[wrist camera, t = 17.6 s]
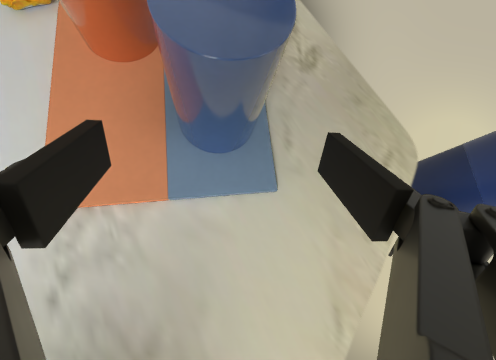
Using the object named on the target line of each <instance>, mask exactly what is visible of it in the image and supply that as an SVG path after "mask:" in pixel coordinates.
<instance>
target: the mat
mask: <svg viewBox="0 0 496 360" xmlns="http://www.w3.org/2000/svg"><path fill="white" fill-rule="evenodd" d="M85 120H102V123H103V128H104V132H105V137H106V142H107V146H108V151H109V156H110V161H111V165H112V166H111V167H110V168H109V169H108V170H107V172H106V173H105V174H104V175H103V177H102V178H101V179H100V180H99V182H98V183H97V184H96V185H95V187H94V188H93V189H92V190H91V192H90V193H89V194H88V195H87V197H86V198H85V199H84V200H83V202H82V203H81V204H80V205H79V207H91V206H104V205H116V204H128V203H140V202H153V201H165V200H177V199H189V198H202V197H214V196H226V195H238V194H251V193H263V192H275V191H277V183H276V176H275V169H274V162H273V155H272V148H271V141H270V134H269V127H268V120H267V113H266V106H265V102H264V105H263V107H262V110H261V113H260V115H259V118H258V120H257V123H256V126H255V128H254V131H253V133H252V135H251V137H250V138H249V140H248V141H247V142H246V143H245V144H244V145H243V146H241V147H240V148H238V149H236V150H234V151H231V152H227V153H210V152H206V151H203V150H201V149H199V148H197V147H195V146H194V145H192V144H191V143H190V142H189V141H188V140H187V139H186V138H185V137H184V135H183V133H182V132H181V129H180V127H179V123H178V119H177V116H176V112H175V108H174V104H173V100H172V97H171V93H170V89H169V85H168V81H167V77H166V74H165V70H164V66H163V62H162V58H161V55H160V51H159V47H158V46H157V48H156V49H155V50H154V51H153V52H152V53H151V54H149V55H148V56H146V57H144V58H142V59H140V60H137V61H133V62H114V61H110V60H106V59H104V58H101V57H100V56H98V55H96V54H95V53H93V52H92V51H91V50H90V49H89V48H88V46H87V45H86V44H85V42H84V40H83V39H82V37H81V36H80V34H79V32H78V31H77V29H76V28H75V26H74V24H73V23H72V21H71V20H70V18H69V16H68V15H67V13H66V11H65V10H64V8H63V7H62V5H61V3H60V2H59V7H58V17H57V27H56V38H55V48H54V59H53V69H52V80H51V90H50V101H49V111H48V122H47V132H46V143H45V146H46V145H48V144H49V143H51V142H52V141H54V140H55V139H57V138H59V137H60V136H62V135H63V134H65V133H66V132H68V131H69V130H71V129H73V128H74V127H76V126H77V125H79V124H80V123H82V122H83V121H85ZM79 207H78V208H79Z"/></svg>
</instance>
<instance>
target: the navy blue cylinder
mask: <svg viewBox="0 0 496 360" xmlns="http://www.w3.org/2000/svg"><path fill="white" fill-rule="evenodd" d="M147 5H148V9H149V13H150V16H151V20H152V24H153V28H154V32H155V35H156V39H157V43H158V47H159V51H160V55H161V58H162V62H163V66H164V70H165V74H166V77H167V81H168V85H169V89H170V93H171V97H172V100H173V104H174V108H175V112H176V116H177V119H178V123H179V127H180V129H181V132H182V133H183V135H184V137H185V138H186V139H187V140H188V141H189V142H190V143H191V144H192V145H194V146H195V147H197V148H199V149H201V150H203V151H206V152H210V153H227V152H231V151H234V150H236V149H238V148H240V147H241V146H243V145H244V144H245V143H246V142H247V141H248V140H249V138H250V137H251V135H252V133H253V131H254V128H255V126H256V123H257V120H258V118H259V115H260V113H261V110H262V107H263V105H264V102H265V100H266V97H267V95H268V92H269V89H270V87H271V84H272V82H273V79H274V76H275V74H276V71H277V69H278V66H279V64H280V61H281V58H282V56H283V53H284V51H285V48H286V45H287V43H288V40H289V38H290V35H291V33H292V30H293V27H294V25H295V20H296V2H295V0H147Z"/></svg>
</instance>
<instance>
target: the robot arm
mask: <svg viewBox="0 0 496 360" xmlns="http://www.w3.org/2000/svg"><path fill="white" fill-rule="evenodd" d="M111 166H112V165H111V161H110V156H109V151H108V146H107V142H106V137H105V132H104V128H103V123H102V120H85V121H83V122H82V123H80V124H79V125H77V126H76V127H74V128H73V129H71V130H69V131H68V132H66V133H65V134H63V135H62V136H60V137H59V138H57V139H55V140H54V141H52V142H51V143H49V144H48V145H46V146H44V147H43V148H41V149H40V150H38V151H37V152H35V153H34V154H32V155H30V156H29V157H27V158H26V159H24V160H21V161H18V162H15V163H14V164H12V165H10V166H9V167H7V168H6V169H5V170H2V171H1V172H0V360H46V358H45V355H44V352H43V349H42V345H41V342H40V339H39V336H38V333H37V330H36V327H35V324H34V321H33V318H32V315H31V312H30V309H29V306H28V303H27V300H26V296H25V293H24V290H23V287H22V284H21V281H20V278H19V275H18V272H17V269H16V266H15V263H14V260H13V257H12V254H11V251H10V249H9V247H8V246H7V244H8V243H9V242H10V241H11V240H12V239H13V238H14V237H16V239H17V241H18V243H19V244H20V246H21V248H46V247H47V245H48V244H49V243H50V242H51V240H52V239H53V238H54V237H55V235H56V234H57V233H58V232H59V230H60V229H61V228H62V227H63V225H64V224H65V223H66V222H67V220H68V219H69V218H70V217H71V215H72V214H73V213H74V212H75V210H76V209H77V208H78V207H79V205H80V204H81V203H82V202H83V200H84V199H85V198H86V197H87V195H88V194H89V193H90V192H91V190H92V189H93V188H94V187H95V185H96V184H97V183H98V182H99V180H100V179H101V178H102V177H103V175H104V174H105V173H106V172H107V170H108V169H109V168H110V167H111ZM318 172H319V174H320V175H321V176H322V178H323V179H324V180H325V181H326V183H327V184H328V185H329V187H330V188H331V189H332V190H333V192H334V193H335V194H336V196H337V197H338V198H339V199H340V201H341V202H342V203H343V205H344V206H345V207H346V208H347V210H348V211H349V212H350V214H351V215H352V216H353V217H354V219H355V220H356V221H357V223H358V224H359V225H360V227H361V228H362V229H363V230H364V232H365V233H366V234H367V236H368V237H369V238H370V239H371V241H388V239H389V237H390V235H391V233H392V231H394V232H395V233H396V234H397V235H398V236H399V237H398V239H397V240H396V242H395V244H394V246H393V248H392V250H391V251H390V253H389V256H392V255H393V259H392V266H391V273H390V279H389V285H388V292H387V298H386V304H385V311H384V318H383V324H382V330H381V337H380V344H379V350H378V356H377V360H493V356H494V359H495V360H496V206H490V205H485V204H477V205H476V206H475V208H474V209H473V211H472V212H471V213H466V212H461V211H458V208H457V207H456V206H455V205H454V204H453V203H451V202H449V201H448V200H446V199H444V198H442V197H438V196H434V195H429V194H424V195H421V194H419V193H418V192H417V191H416V190H414V189H413V188H412V187H410V186H409V185H408V184H406V183H404V181H402V180H401V179H399V178H398V177H397V176H396V175H394V174H393V173H392V172H390V171H389V170H387V169H386V168H385V167H383V166H382V165H381V164H379V163H378V162H377V161H375V160H374V159H373V158H372V157H370V156H369V155H368V154H366V153H365V152H364V151H362V150H361V149H360V148H358V147H357V146H356V145H354V144H353V143H352V142H351V141H349V140H348V139H347V138H345V137H344V136H343V135H341V134H340V133H329V132H328V134H327V138H326V142H325V146H324V149H323V153H322V157H321V160H320V164H319V168H318ZM493 254H494V256H493V259H492V261H491V262H490V263H488V262H487V261H488V260H489V258H490V257H491V256H492V255H493Z"/></svg>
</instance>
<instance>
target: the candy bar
mask: <svg viewBox="0 0 496 360" xmlns="http://www.w3.org/2000/svg"><path fill="white" fill-rule="evenodd" d="M51 1H52V0H0V2H1V4H3V5H7V6H8V7H11V8H13V9H15V10H19V9H23V8H28V7H33V6H38V5H44V4H50V3H51Z"/></svg>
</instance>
